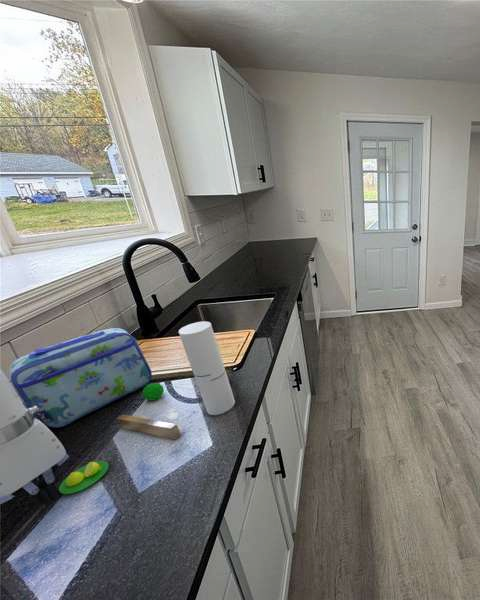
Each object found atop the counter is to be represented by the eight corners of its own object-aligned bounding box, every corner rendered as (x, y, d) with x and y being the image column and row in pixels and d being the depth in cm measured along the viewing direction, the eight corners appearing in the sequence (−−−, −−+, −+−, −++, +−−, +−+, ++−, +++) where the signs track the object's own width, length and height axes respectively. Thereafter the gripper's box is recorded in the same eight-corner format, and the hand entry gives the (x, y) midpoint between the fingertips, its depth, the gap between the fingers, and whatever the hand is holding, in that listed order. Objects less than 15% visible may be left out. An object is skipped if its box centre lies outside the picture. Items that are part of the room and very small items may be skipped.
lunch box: (41, 439, 80) (-1, 370, 73) (35, 422, 87) (-5, 357, 79) (158, 385, 100) (134, 326, 92) (146, 374, 106) (123, 318, 98)
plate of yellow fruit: (101, 457, 74) (97, 448, 73) (115, 472, 70) (110, 462, 69) (55, 485, 67) (49, 475, 66) (67, 502, 64) (61, 493, 62)
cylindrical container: (208, 402, 91) (181, 325, 81) (235, 395, 93) (212, 319, 84) (205, 418, 84) (175, 336, 75) (234, 410, 87) (209, 330, 78)
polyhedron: (152, 405, 91) (146, 391, 89) (141, 401, 93) (136, 388, 91) (169, 394, 95) (164, 381, 93) (159, 391, 97) (153, 378, 95)
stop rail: (122, 428, 82) (117, 418, 81) (128, 424, 84) (123, 413, 83) (175, 439, 78) (170, 428, 77) (181, 434, 79) (176, 424, 78)
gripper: (40, 400, 64) (80, 465, 70) (-79, 460, 50) (-16, 534, 57) (65, 405, 62) (103, 472, 69) (-52, 469, 48) (10, 545, 55)
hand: (49, 500), depth 63 cm, fingers closed
